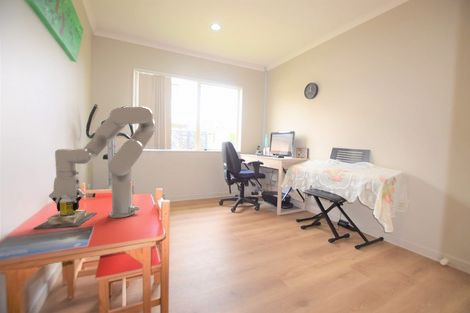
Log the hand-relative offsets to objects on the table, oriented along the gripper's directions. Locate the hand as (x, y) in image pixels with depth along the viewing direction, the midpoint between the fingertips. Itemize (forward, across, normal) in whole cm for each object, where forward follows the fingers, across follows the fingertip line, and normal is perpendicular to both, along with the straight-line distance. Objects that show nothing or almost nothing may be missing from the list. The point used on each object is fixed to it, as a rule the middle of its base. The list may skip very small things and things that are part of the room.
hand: (68, 209), depth 104 cm
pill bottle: (+3, 0, 0) cm, 3 cm away
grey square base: (+6, 0, 0) cm, 6 cm away
